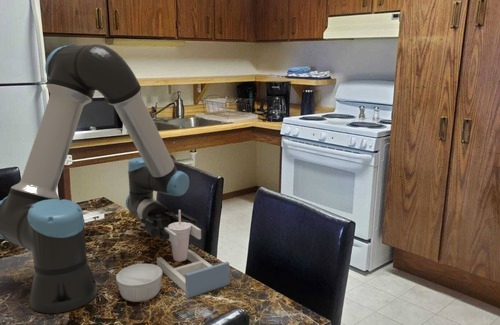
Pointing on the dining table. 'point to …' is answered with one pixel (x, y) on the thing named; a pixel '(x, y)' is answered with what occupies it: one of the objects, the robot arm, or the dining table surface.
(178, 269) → the drawer frame
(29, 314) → the dining table surface
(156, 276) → the ramekin
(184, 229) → the smoothie
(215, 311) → the dining table surface
